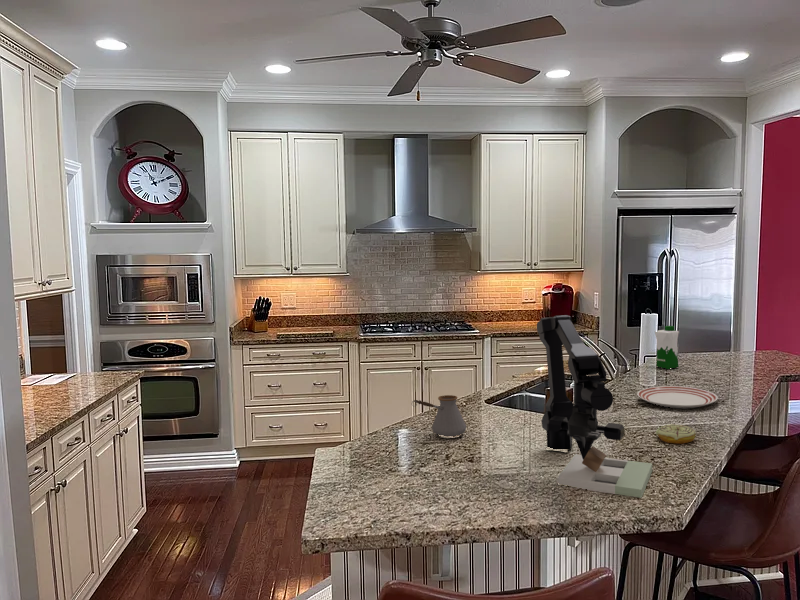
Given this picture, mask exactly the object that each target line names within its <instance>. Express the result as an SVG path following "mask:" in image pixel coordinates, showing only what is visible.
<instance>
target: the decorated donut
mask: <svg viewBox="0 0 800 600" xmlns="http://www.w3.org/2000/svg"><path fill="white" fill-rule="evenodd" d="M655 433H656V434H655V435H656V436H657V437H658V438H659V439H660V440H661V441H662V442H665V443H668V444H680V445H682V444H688V443H692V442H693V441H694V440H695V438H696V436H697V435H696V430H695V429H693V428H692V427H690V426H688V425H682V424H677V423H676V424H675V423H674V424H673V423H669V424H664V425H662V426H659V428H658V429H657V430H656V432H655Z"/></svg>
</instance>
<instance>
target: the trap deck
mask: <svg viewBox="0 0 800 600" xmlns="http://www.w3.org/2000/svg"><path fill="white" fill-rule="evenodd" d="M582 462H583V458H582V455H581V454H577V453H576V454H574V455H573V457H572V458H571V459H570V461H569V462H568V463H567V464H566V466H565V467H563V470H561V472H559V474H558V476H557V477H556V483H559V484H563V485H568V486H572V487H577V488H576V489H579V488H582V489H581V490H585V489H587V491H594V492H598V493H599V492H600V493H606V494H611V495H612V494H614V495H620V496H626V497H635V498H640V499H641V498H643V496H644V493H645V490H646V487H647V485H648V483H649V481H650V478H651V476H652V472H653V463H651V462H643V461H635V460H634V461H633V460H626V459H618V458H611V457H605V459H604V461H603V462H602V464H601V466H600V467H599V469H598V470H597V471H596V472H595V471H593V470H591V469H590V468H588V467H587V466H585V465H584V464H582ZM572 487H571V488H572Z"/></svg>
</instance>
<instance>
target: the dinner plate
mask: <svg viewBox="0 0 800 600" xmlns="http://www.w3.org/2000/svg"><path fill="white" fill-rule="evenodd" d="M636 394H637V396H638V398H640V399H642V400H643V401H645V402H648V403H650V404H653V405H655V404H656V405H655V406H658V405H660V406H659V407H662V406H664V407H663V408H668V407H670V408H671V409H694V408H695V409H696V408H700V407H705V406H708V405H711V404H713V403H715V402H717V400H718V398H719V397H718V395H717V394H715V393H713V392H712V391H708V390H707V389H706V390H705V389H701V388H695V387H690V386H683V385H681V386H680V385H679V386H677V385H661V386H650V387H647V388H642V389H639V390H638V391H637V393H636ZM670 408H669V409H670Z"/></svg>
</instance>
